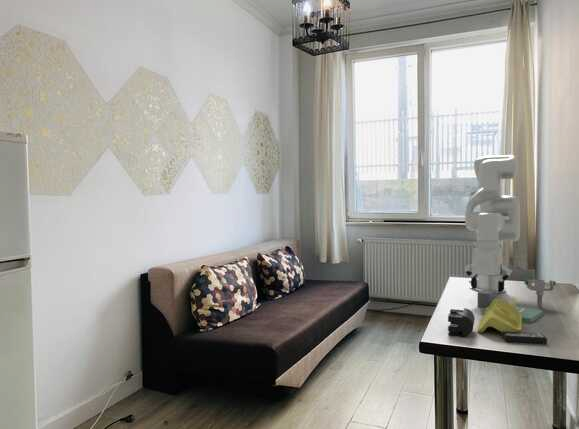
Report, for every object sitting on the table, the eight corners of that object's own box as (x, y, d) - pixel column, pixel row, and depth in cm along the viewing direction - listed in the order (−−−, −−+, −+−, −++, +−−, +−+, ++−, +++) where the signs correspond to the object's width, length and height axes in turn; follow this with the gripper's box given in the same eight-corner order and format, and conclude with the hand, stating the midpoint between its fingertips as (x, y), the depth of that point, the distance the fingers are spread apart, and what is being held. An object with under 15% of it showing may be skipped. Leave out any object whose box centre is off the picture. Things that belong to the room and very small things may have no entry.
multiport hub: (501, 338, 130) (501, 331, 130) (541, 340, 128) (541, 333, 128) (505, 343, 126) (505, 335, 126) (547, 345, 124) (547, 337, 124)
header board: (481, 314, 155) (481, 300, 155) (495, 307, 165) (495, 293, 165) (530, 323, 144) (531, 308, 144) (542, 314, 154) (542, 300, 154)
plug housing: (477, 306, 166) (477, 292, 166) (485, 302, 172) (485, 289, 172) (488, 308, 163) (489, 294, 163) (496, 304, 169) (496, 290, 169)
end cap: (473, 339, 130) (473, 316, 129) (447, 336, 133) (447, 314, 132) (474, 329, 139) (474, 308, 138) (450, 327, 142) (450, 306, 141)
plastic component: (521, 331, 129) (487, 314, 132) (509, 351, 131) (476, 333, 135) (521, 310, 146) (492, 295, 150) (510, 328, 148) (482, 313, 152)
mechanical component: (556, 307, 163) (556, 281, 163) (526, 306, 165) (526, 280, 165) (552, 305, 166) (553, 279, 166) (523, 304, 168) (523, 279, 168)
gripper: (460, 244, 170) (460, 288, 170) (508, 247, 158) (508, 294, 158) (468, 243, 175) (468, 286, 175) (515, 246, 163) (514, 291, 163)
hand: (487, 290), depth 166 cm, fingers open, 9 cm apart
